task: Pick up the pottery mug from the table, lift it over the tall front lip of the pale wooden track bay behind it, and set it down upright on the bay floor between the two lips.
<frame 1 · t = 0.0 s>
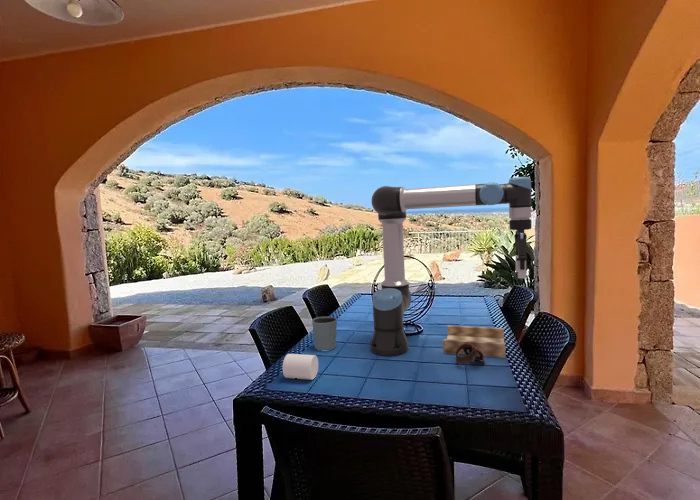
hand: (520, 275, 144), 28 cm above the table, tool pointing down, fingers open, 13 cm apart
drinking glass: (326, 348, 157), on the table
white cylinder: (303, 375, 131), on the table
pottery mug: (469, 363, 134), on the table
track bay: (474, 346, 149), on the table
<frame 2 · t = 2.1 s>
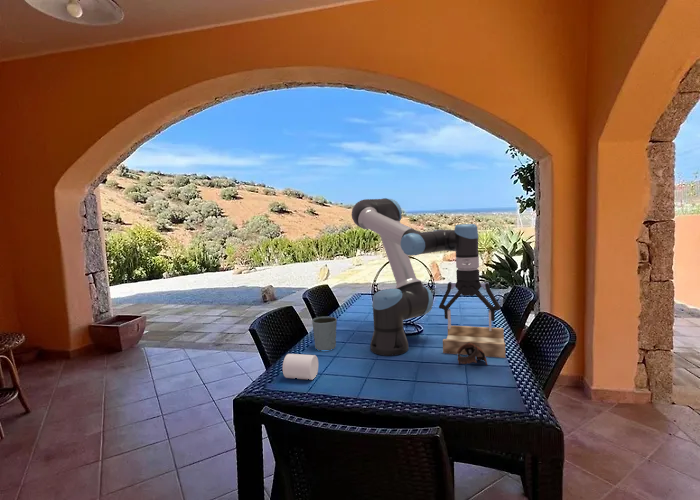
hand: (469, 328, 132), 12 cm above the table, tool pointing down, fingers open, 13 cm apart
nothing on the table moved.
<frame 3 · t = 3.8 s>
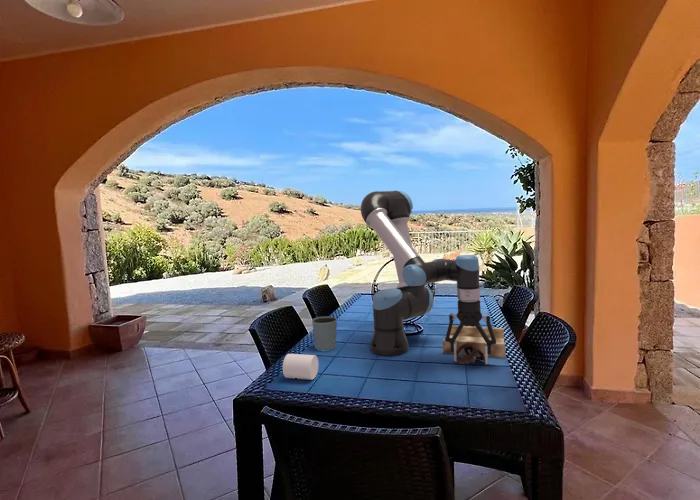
hand: (471, 361, 134), 0 cm above the table, tool pointing down, fingers closed on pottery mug, 10 cm apart
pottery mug: (470, 363, 134), on the table, touching gripper
everything else where it was.
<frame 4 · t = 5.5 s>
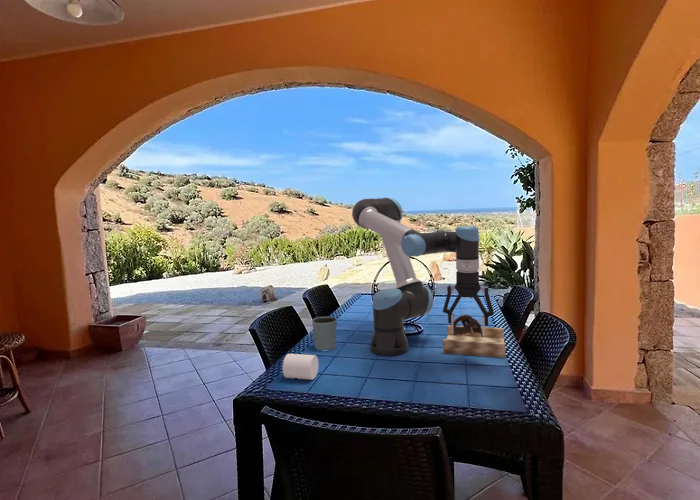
hand: (468, 333, 133), 11 cm above the table, tool pointing down, fingers closed on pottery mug, 10 cm apart
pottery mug: (467, 335, 133), point 10 cm above the table, touching gripper
everything else where it was.
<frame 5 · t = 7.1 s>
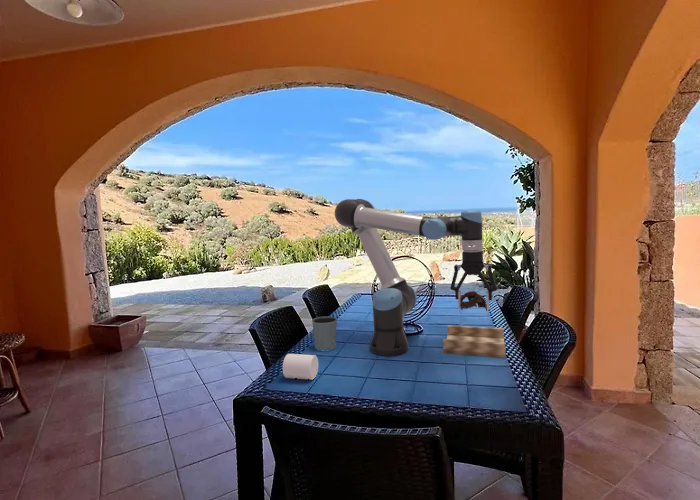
hand: (473, 308, 147), 16 cm above the table, tool pointing down, fingers closed on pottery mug, 10 cm apart
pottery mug: (473, 310, 147), point 15 cm above the table, touching gripper
everything else where it was.
when the fingers open (3 cm above the table, at t = 9.8 s): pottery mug stays where it is, resting on track bay.
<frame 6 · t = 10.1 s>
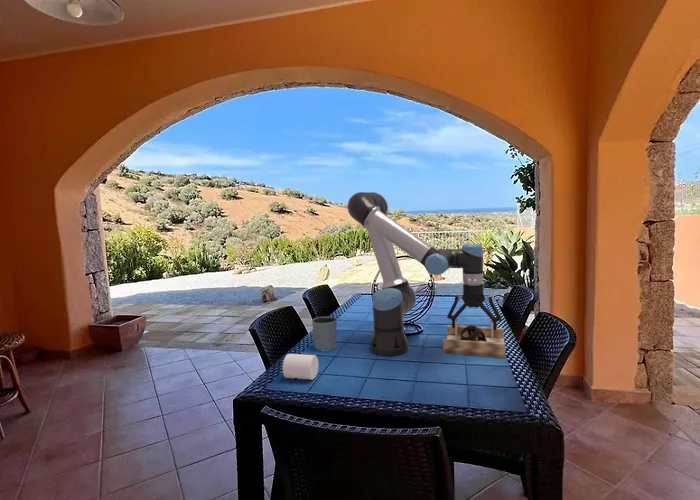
hand: (474, 336, 149), 4 cm above the table, tool pointing down, fingers open, 13 cm apart
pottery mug: (473, 343, 149), point 1 cm above the table, touching track bay
everything else where it was.
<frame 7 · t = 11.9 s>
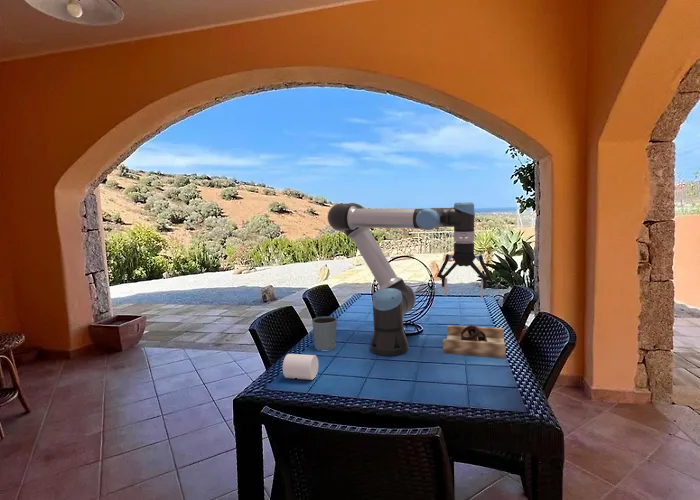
hand: (463, 296, 149), 20 cm above the table, tool pointing down, fingers open, 13 cm apart
nothing on the table moved.
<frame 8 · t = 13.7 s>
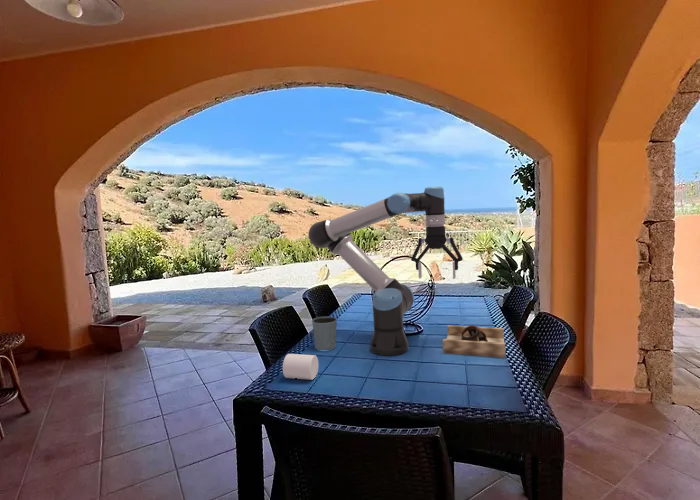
hand: (437, 278, 153), 27 cm above the table, tool pointing down, fingers open, 13 cm apart
nothing on the table moved.
at the end: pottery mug inside the target area on the track bay (0.0 cm from its centre), point 1.0 cm above the track bay's base; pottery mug tilted 0°; the gripper is holding nothing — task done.
